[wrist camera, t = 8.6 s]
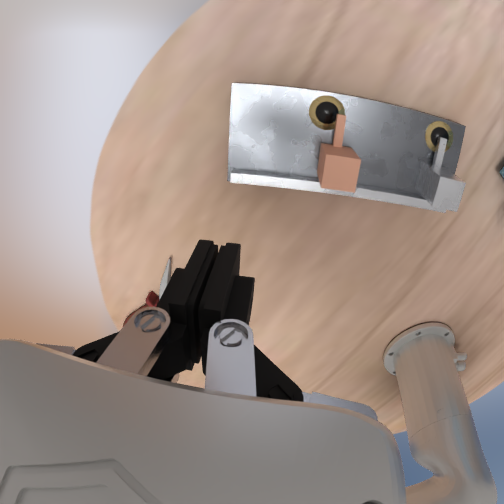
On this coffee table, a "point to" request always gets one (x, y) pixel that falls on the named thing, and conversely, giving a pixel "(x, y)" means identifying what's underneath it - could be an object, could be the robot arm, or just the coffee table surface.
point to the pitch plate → (355, 136)
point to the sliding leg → (338, 162)
